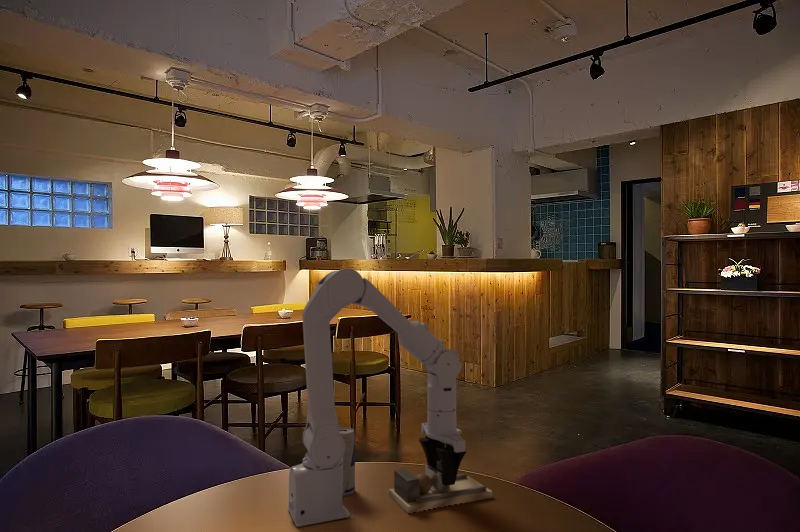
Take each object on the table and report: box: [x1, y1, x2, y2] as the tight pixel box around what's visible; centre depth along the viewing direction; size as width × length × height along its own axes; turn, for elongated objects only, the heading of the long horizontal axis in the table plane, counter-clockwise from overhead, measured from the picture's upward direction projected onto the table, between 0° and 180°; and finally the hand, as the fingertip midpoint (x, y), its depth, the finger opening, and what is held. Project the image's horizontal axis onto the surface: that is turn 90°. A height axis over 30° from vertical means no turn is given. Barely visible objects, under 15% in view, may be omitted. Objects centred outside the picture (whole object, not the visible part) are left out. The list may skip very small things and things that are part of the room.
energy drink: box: [339, 426, 356, 497], centre depth 98 cm, size 5×5×12 cm
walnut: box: [415, 473, 432, 494], centre depth 94 cm, size 4×4×4 cm
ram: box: [424, 458, 450, 494], centre depth 96 cm, size 4×5×5 cm
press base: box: [388, 468, 493, 514], centre depth 96 cm, size 18×9×5 cm, turn 114°
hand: (442, 479), depth 96 cm, fingers closed on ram, 5 cm apart
